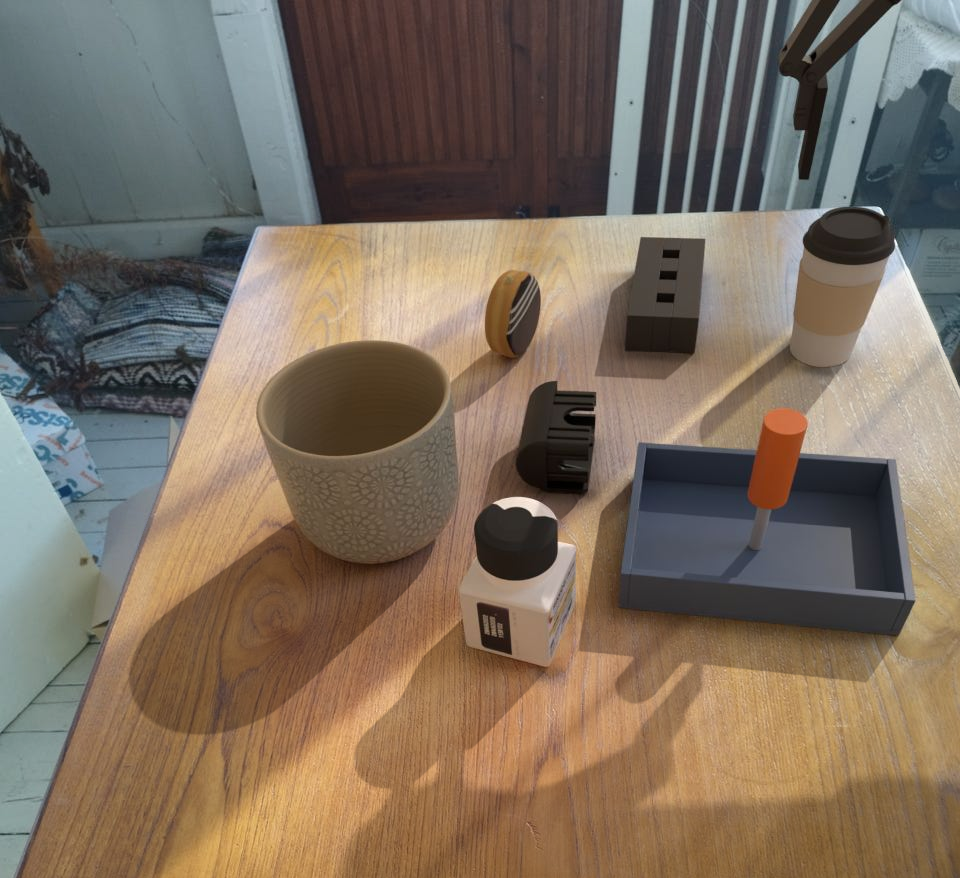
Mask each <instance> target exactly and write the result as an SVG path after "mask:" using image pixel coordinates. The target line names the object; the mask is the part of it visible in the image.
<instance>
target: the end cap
mask: <svg viewBox="0 0 960 878" xmlns="http://www.w3.org/2000/svg"><path fill="white" fill-rule="evenodd" d="M596 406H597V391H585V390H558V380H549V381H546V382H543V383H541V384H539V385H537V386H536V387H535V388H534V389H533V390H532V392H531V393H530V395H529V398H528V400H527V405H526V410H525V414H524V420H523V424H522V427H521V429H522V430H521V433H520V438H519V442H518V447H517V452H516V456H515V470H516V473H517V474H518V476H519V477H520V479H521V480H522V481H523V482H524V483H526V484H527V485H529V486H530V487H532V488H535V489H538V490H540V491H541V492H545V493H549V494H565V495H566V494H568V495H585V494H587V493H588V491H589V485H590V478H591V471H592V461H593V454H594V447H595V437H596V436H595V434H596V419H597V415H596V413H578V412H595V407H596ZM575 412H577V413H575Z"/></svg>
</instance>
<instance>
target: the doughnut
mask: <svg viewBox="0 0 960 878" xmlns="http://www.w3.org/2000/svg"><path fill="white" fill-rule="evenodd" d="M541 305H542V295H541V288H540V284H539V282H538V280H537V278H536V276H535V275H533V273H531V272H529V271H525V270H517V269H509V270H507V271H505V272H504V273H502V274H501V275H500V276H499V277H498V278H497V280H496V281H495V283H494V284H493V286H492V288H491V290H490V293H489V296H488V298H487V302H486V308H485V314H484V334H485V339H486V343H487V345H488V347H489V348H490V350H491V351H493V353H494V354H497V355H501V356H505V357H507V358H514V359H515V358H517V357H520V356H521V355H523V354H524V353H525V352H526V351H527V349H528V348H529V347H530V345H531V343H532V341H533V340H534V337H535V334H536V331H537V328H538V325H539V320H540V315H541Z"/></svg>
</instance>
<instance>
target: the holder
mask: <svg viewBox="0 0 960 878" xmlns="http://www.w3.org/2000/svg"><path fill="white" fill-rule="evenodd" d="M706 241H707V239H706V238H696V237H695V238H693V237H656V236H655V237H654V236H640V239H639V244H638V249H637V256H636V262H635V268H634V274H633V279H632V284H631V285H632V286H631V291H630V297H629V303H628V307H627V313H626V328H625V342H624V343H625V345H624V346H625V347H624V350H625V351H634V352H655V353H677V354H678V353H679V354H695V352H696V345H697V337H698V329H699V321H700V312H701V301H702V288H703V287H702V286H703V277H704V276H703V275H704V264H705V251H706Z"/></svg>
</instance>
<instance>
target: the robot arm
mask: <svg viewBox="0 0 960 878" xmlns="http://www.w3.org/2000/svg"><path fill="white" fill-rule="evenodd" d="M840 1H841V0H811V1H810V2H809V4H808V6H807V7H806V8H805V11H804V12H803V14H802V16H801V17H800V18H799V21H798V22H797V23H796V25H795V27H794V29H793V30H792V32H791V33H790V35H789V36H788V38H787V40H786V41H785V43H784V45H783V47H782V48H781V49H780V51H779V53H778V72H779V74H780V75H781V76H782V77H790V78H793V79H795V80H796V81H797V82H798V88H797V93H796V99H795V103H794V109H793V114H792V120H793V121H792V123H793V129H794V131H804V132H803V137H802V142H801V146H800V147H801V148H800V152H799V157H798V162H797V171H798V172H797V173H798V181H800V180H801V181H809V180H810V175H811V171H812V167H813V166H812V165H813V161H814V157H815V152H816V147H817V142H818V139H819V138H818V137H819V133H820V129H821V123H822V119H823V114H824V109H825V105H826V101H827V95H828V92H829V91H828V90H829V86H828V85H829V84H828V75H827V74H828V73H829V72H830V70H831V69H833V68H834V66H835V65H836V64H837V63H838V62H840V60H841V59H842V58H843V57H844V56H845V55H846V54H847V53H848V52H849V51H851V49H852V48H853V47H854V46H855V45H856V44H857V43H858V42H859V41H860V40H861V39H862V38H863V37H864V36H865V35H866V34H867V33H868V32H869V31H870V30H871V29H872V28H873V27H874V26H875V25H876V24H877V23H878V22H879V21H880V20H881V19H882V18H883V17H884V16H885V15H886V14H887V13H888V11H889V10H891V8H893V7H894V6H896V5H898V4H899V3H901V1H902V0H860V1H858V3H857V4H856V5H855V6H854V7H853V8H852V9H851V10H850V12H849V11H848V13H847V15H845V17H843V19H841V21H839V23H838V24H837V25H836V26H835V27H833V29H832V30H831V31H830V32H829V33H828V35H826V37H824V38H823V40H822V41H821V42H820V43H819V44H818V45H817V46H816V47H815V48H814V49H812V51H811V52H810V53H809V54H808V55H807V53H808V52H809V50H810V48H811V47H812V45H813V44H814V42H815V41H816V39H817V38H818V36H819V35H820V32H821V31H822V30H823V28H824V27H825V25H826V23H827V22H828V20H829V19H830V17H831V16H832V14H833V12H834V11H835V10H836V8H837V6H838V5H839V3H840Z"/></svg>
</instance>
